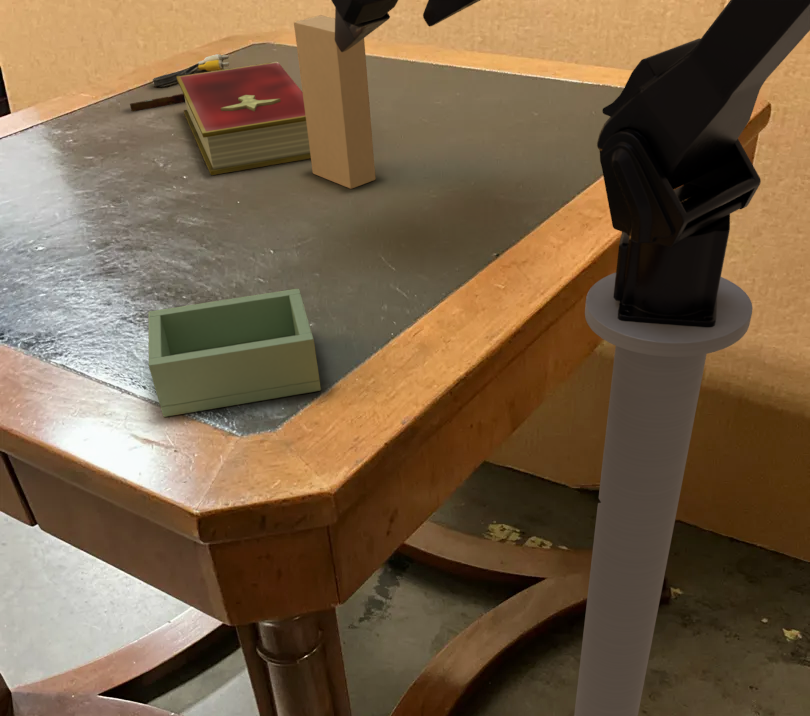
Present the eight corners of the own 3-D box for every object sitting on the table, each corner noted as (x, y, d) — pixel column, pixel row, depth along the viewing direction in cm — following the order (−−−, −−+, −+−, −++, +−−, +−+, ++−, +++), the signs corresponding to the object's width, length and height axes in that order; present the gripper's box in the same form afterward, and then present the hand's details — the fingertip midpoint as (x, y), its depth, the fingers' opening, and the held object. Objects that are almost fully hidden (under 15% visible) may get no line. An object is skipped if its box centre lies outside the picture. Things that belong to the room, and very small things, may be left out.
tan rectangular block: (337, 164, 88) (320, 14, 79) (375, 179, 84) (363, 24, 76) (312, 173, 86) (293, 21, 78) (350, 189, 83) (335, 32, 74)
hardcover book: (286, 97, 105) (280, 58, 102) (329, 155, 90) (324, 110, 87) (184, 113, 103) (175, 73, 100) (211, 175, 88) (201, 130, 85)
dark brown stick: (254, 89, 109) (253, 80, 108) (255, 90, 109) (254, 81, 108) (131, 112, 105) (129, 103, 104) (132, 113, 105) (130, 104, 104)
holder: (161, 361, 62) (148, 311, 59) (306, 338, 63) (299, 287, 60) (163, 417, 57) (148, 365, 54) (321, 391, 58) (313, 338, 55)
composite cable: (154, 89, 111) (149, 67, 109) (151, 79, 114) (147, 57, 113) (233, 77, 112) (229, 56, 111) (228, 68, 116) (224, 47, 114)
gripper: (516, -260, 62) (418, -75, 75) (298, -239, 53) (233, -35, 67) (598, -116, 62) (486, 41, 76) (396, -72, 53) (311, 96, 67)
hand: (384, 33), depth 71 cm, fingers open, 9 cm apart
